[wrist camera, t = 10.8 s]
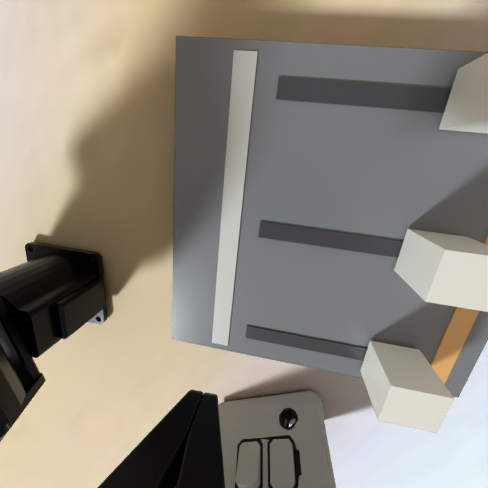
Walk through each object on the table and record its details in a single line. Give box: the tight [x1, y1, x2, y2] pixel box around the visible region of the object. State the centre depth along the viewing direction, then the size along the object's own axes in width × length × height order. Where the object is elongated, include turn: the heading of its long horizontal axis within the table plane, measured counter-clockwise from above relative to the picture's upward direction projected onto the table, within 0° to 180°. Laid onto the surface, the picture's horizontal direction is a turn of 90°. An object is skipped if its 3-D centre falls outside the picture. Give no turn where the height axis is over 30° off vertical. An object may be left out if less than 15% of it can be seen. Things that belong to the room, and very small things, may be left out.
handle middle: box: [394, 229, 488, 312], centre depth 12 cm, size 3×2×4 cm
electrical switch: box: [218, 391, 336, 488], centre depth 19 cm, size 9×5×9 cm, turn 111°
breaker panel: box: [172, 36, 488, 397], centre depth 16 cm, size 20×19×2 cm
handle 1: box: [360, 341, 454, 434], centre depth 15 cm, size 3×2×4 cm
